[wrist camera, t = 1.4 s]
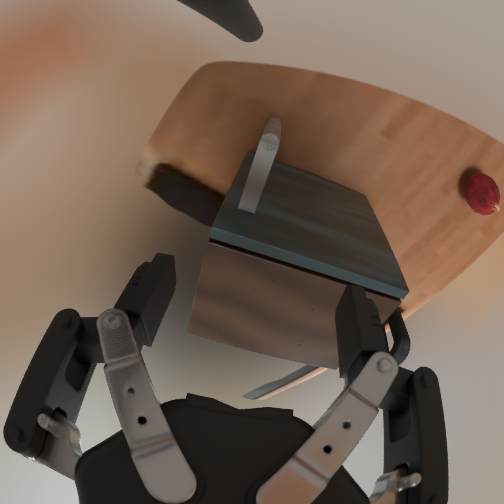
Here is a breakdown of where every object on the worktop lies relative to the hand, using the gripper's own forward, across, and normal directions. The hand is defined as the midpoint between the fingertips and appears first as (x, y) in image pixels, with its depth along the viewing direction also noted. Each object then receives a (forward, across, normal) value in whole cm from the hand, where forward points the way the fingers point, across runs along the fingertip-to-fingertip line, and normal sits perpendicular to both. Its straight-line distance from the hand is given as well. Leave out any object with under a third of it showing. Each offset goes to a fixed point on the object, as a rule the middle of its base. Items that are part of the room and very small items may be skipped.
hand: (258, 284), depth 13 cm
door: (+26, -5, +1) cm, 26 cm away
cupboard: (+26, -3, +11) cm, 28 cm away
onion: (+26, -30, -2) cm, 40 cm away
